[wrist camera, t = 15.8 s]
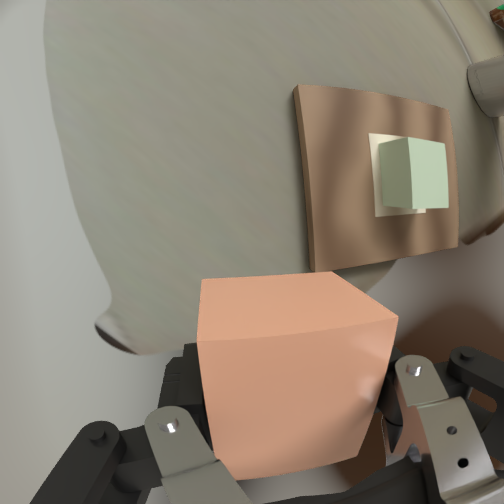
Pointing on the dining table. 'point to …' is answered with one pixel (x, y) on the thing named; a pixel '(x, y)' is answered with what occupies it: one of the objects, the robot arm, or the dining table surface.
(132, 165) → the dining table surface
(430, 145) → the sage green brick
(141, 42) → the dining table surface
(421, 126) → the base board
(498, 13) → the food container
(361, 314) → the terracotta brick
